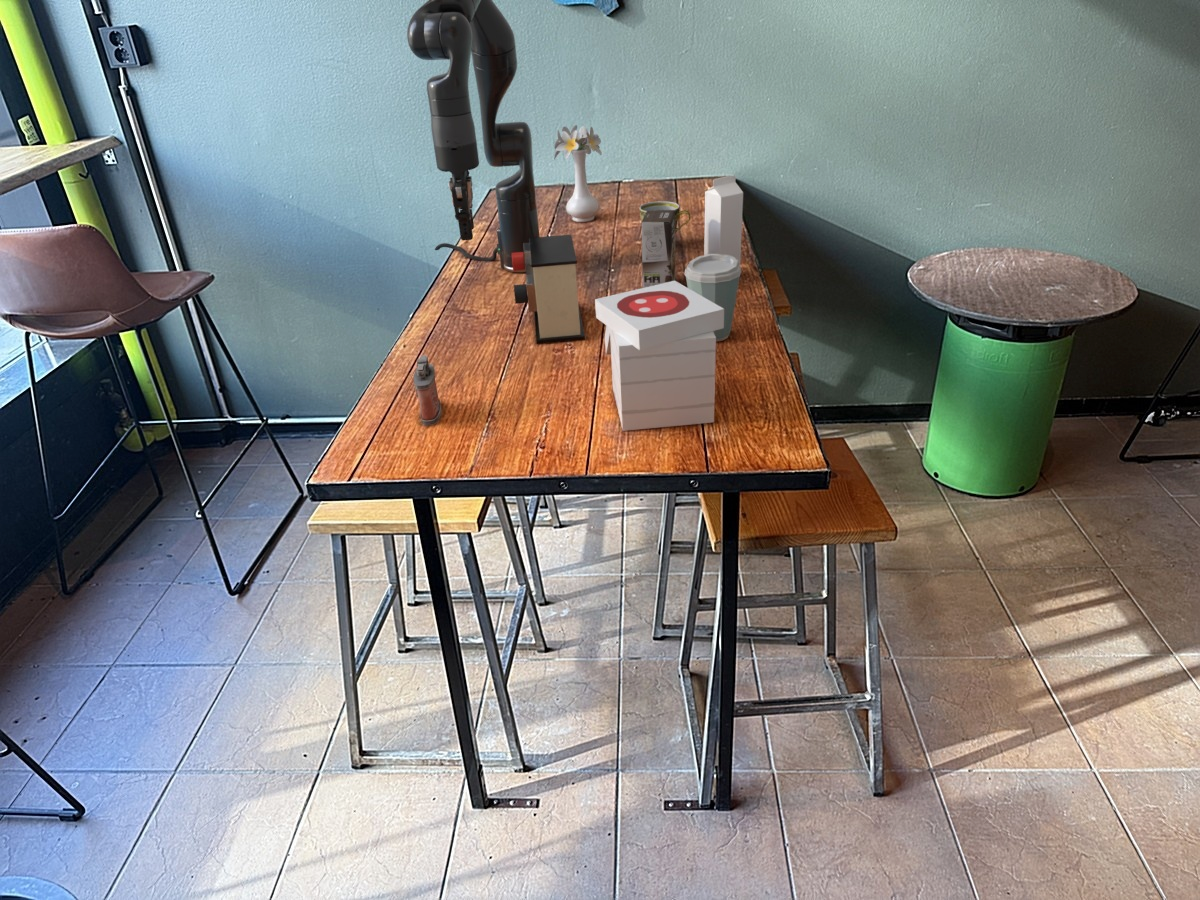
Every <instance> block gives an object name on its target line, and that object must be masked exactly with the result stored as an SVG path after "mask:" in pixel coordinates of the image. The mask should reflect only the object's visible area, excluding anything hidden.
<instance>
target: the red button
mask: <svg viewBox="0 0 1200 900" xmlns="http://www.w3.org/2000/svg"><path fill="white" fill-rule="evenodd" d="M512 264H513V271H520V270H525V261H524V252H517V253H512Z"/></svg>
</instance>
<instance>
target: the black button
mask: <svg viewBox="0 0 1200 900" xmlns="http://www.w3.org/2000/svg"><path fill="white" fill-rule="evenodd" d="M513 294H514V303H515V304H516V305H518V304H528V294H527V285H526V283H524V284H523V283H522V284H514V285H513Z"/></svg>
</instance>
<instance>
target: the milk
mask: <svg viewBox="0 0 1200 900" xmlns="http://www.w3.org/2000/svg"><path fill="white" fill-rule="evenodd" d="M736 178H737V177H736V175H734V174H733V175H729V176H723V177H719V178H714V179H713V180H712V187H710V188H709V189H707V190H705V191H704V233H703V234H704V235H703V236H704V240H703V243H704V244H703V245H704V246H703V249H704V251H703V255H707V254H726V255H730V256H734V257H735V258H736V259H737V260H738V261H739V262H738V265H740V266H741V257H742V235H743V208H744V191H743V190H742V189H741V187H740V186H739V184H738V183H737V181H736Z"/></svg>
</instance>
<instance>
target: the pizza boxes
mask: <svg viewBox="0 0 1200 900" xmlns="http://www.w3.org/2000/svg"><path fill="white" fill-rule="evenodd" d="M594 304H595V305H594V307H595V319H597V320H598V321H599V322H601V323H602V324H603V325H605V332H604V347H605V355H606V356H607V355H610V361H611V380H612V381H611V382H612V391H613V395H614V400H615V404H616V408H617V413H618V416H619V420H620V425H621V429H622V432H625V431H634V430H635V431H636V430H647V429H658V428H667V427H668V428H670V427H677V426H678V427H679V426H689V425H690V426H691V425H701V424H711V423H715V404H716V403H715V402H716V401H715V396H716V354H717V353H716V350H717V342H716V337H715V335H714V333H713V331H715V330H719V329H722V328H724V309H723V308H722V307H720V306H718V305H716V304H715V303H713V302H711V301H709V300H708V299H706V298H704V297H703V296H701V295H699V294H697V293H696V292H694V291H692V290H690V289H689V288H688V286H685V285H683V284H682V283H680V282H678V281H677V280H675V281H671V282H667V283H662V284H658V285H654V286H649V287H645V288H643V287H641V288H636V289H632V290H628V291H624V292H620V293H615V294H611V295H607V296H603V297H598V298H595V299H594Z"/></svg>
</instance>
